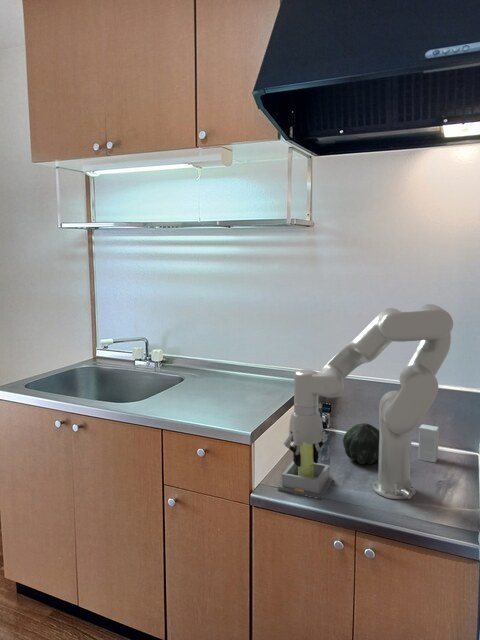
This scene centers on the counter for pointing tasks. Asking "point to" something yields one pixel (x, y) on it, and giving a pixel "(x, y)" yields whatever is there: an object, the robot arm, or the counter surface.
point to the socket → (306, 481)
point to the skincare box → (428, 443)
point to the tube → (306, 461)
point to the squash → (362, 443)
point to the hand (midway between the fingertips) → (305, 462)
